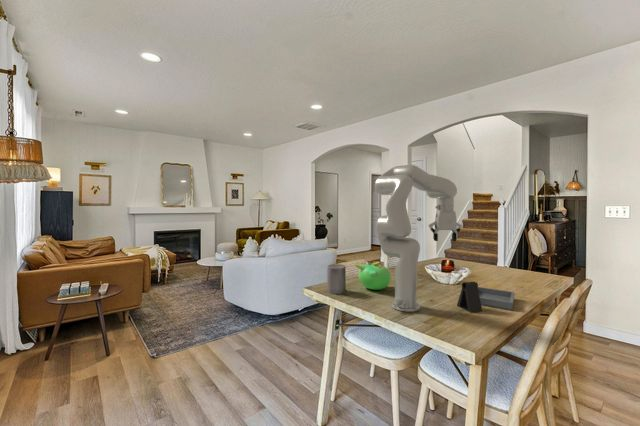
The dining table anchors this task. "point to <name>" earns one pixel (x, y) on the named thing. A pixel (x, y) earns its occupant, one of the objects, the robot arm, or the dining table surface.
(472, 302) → the door stopper
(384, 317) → the dining table surface
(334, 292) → the pillar candle
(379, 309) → the dining table surface
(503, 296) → the tray
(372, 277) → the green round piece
